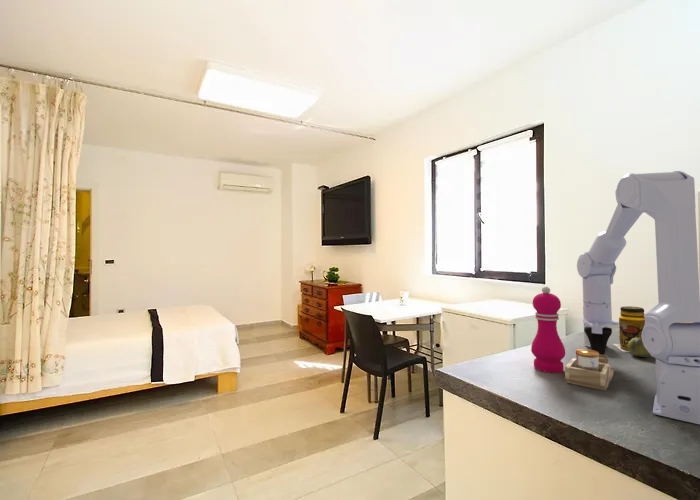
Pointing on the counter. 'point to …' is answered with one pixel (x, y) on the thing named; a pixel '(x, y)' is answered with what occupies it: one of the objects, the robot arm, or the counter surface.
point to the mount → (590, 374)
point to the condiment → (630, 326)
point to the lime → (637, 348)
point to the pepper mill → (547, 334)
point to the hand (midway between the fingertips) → (598, 356)
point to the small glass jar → (587, 359)
